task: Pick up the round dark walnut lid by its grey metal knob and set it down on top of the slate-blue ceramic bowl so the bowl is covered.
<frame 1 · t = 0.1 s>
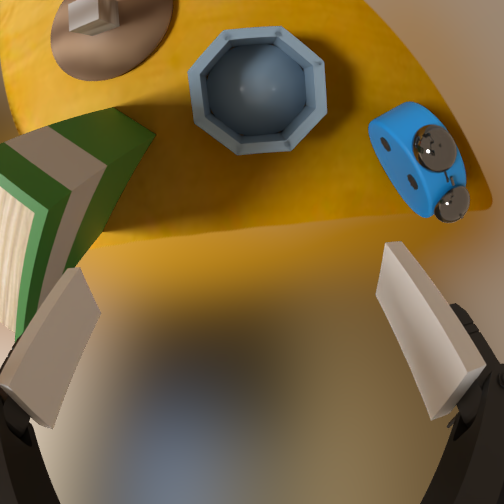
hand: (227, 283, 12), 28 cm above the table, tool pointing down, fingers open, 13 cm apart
bowl: (256, 89, 32), on the table
alarm clock: (391, 146, 36), on the table
hardback book: (105, 173, 37), on the table
lid: (108, 20, 25), on the table
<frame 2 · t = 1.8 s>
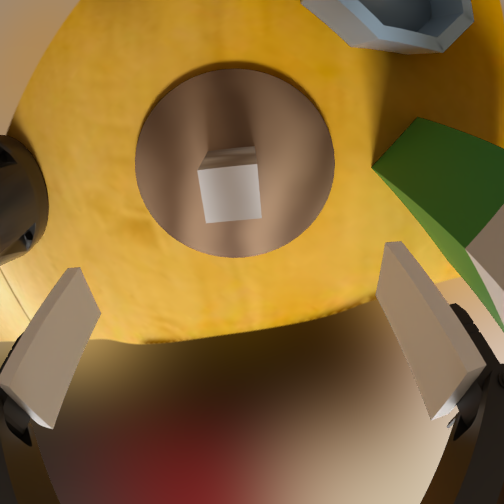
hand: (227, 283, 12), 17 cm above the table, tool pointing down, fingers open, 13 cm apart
hardback book: (437, 196, 28), on the table
lid: (234, 166, 26), on the table
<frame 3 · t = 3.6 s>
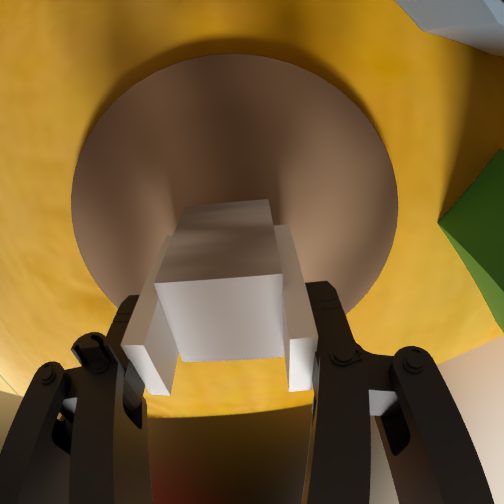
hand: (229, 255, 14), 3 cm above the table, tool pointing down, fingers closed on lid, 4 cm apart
hardback book: (503, 253, 18), on the table
lid: (231, 228, 16), on the table, touching gripper
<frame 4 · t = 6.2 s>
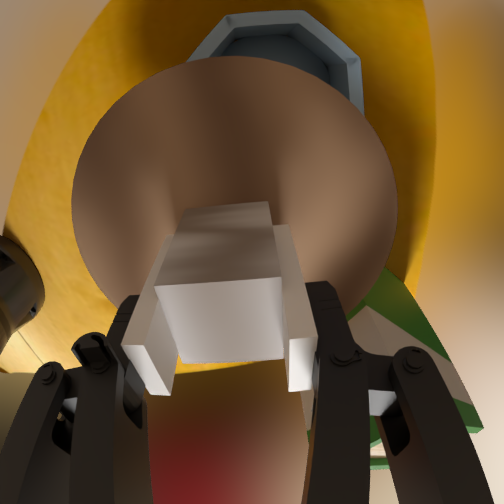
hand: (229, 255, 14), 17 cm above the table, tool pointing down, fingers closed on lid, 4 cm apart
bowl: (268, 93, 25), on the table
hardback book: (347, 272, 36), on the table
lid: (231, 230, 16), point 15 cm above the table, touching gripper
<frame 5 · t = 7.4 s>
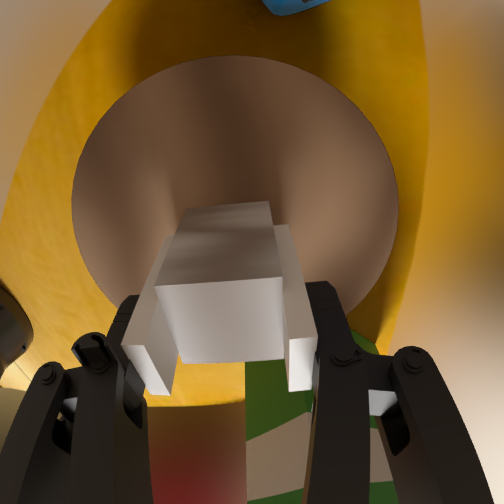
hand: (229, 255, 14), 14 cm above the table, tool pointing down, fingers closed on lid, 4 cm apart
hardback book: (316, 336, 37), on the table
lid: (232, 229, 16), point 11 cm above the table, touching gripper
when the fingers open (10 cm above the table, at t = 8.6 s): lid drops 1 cm, resting on bowl.
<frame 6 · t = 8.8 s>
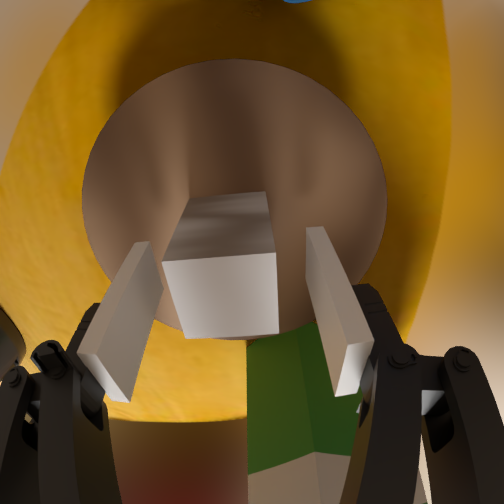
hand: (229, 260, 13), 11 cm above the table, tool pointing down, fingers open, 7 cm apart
hardback book: (322, 356, 34), on the table
lid: (231, 219, 17), point 6 cm above the table, touching bowl
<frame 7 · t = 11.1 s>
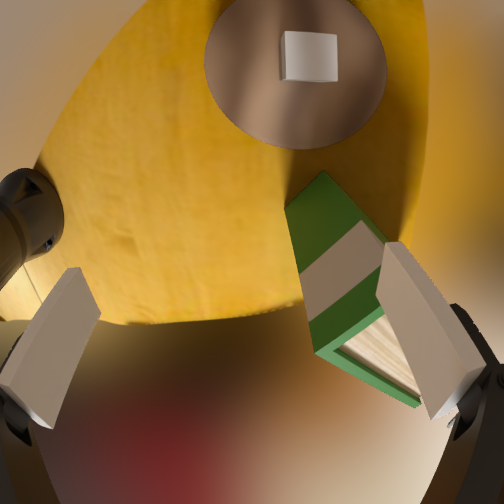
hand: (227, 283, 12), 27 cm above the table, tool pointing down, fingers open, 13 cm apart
hardback book: (345, 229, 41), on the table
lid: (298, 63, 24), point 6 cm above the table, touching bowl
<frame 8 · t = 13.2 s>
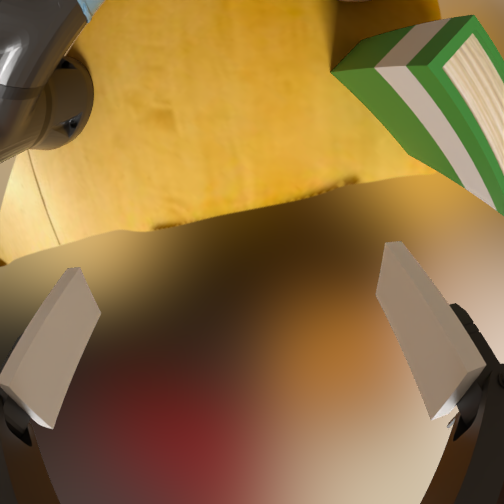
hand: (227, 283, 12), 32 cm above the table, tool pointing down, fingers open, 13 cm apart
hardback book: (388, 98, 35), on the table
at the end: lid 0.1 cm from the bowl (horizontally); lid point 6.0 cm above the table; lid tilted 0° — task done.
